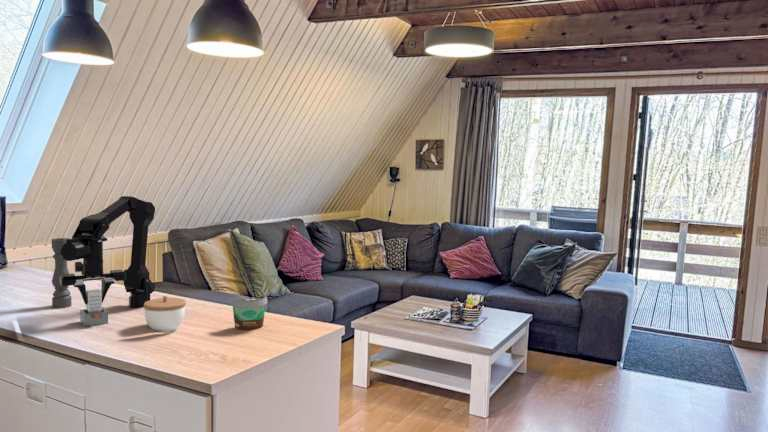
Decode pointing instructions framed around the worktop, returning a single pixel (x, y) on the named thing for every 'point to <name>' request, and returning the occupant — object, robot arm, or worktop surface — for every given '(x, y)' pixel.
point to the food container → (249, 313)
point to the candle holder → (61, 292)
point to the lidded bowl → (164, 313)
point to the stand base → (94, 318)
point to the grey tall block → (94, 301)
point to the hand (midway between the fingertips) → (93, 303)
